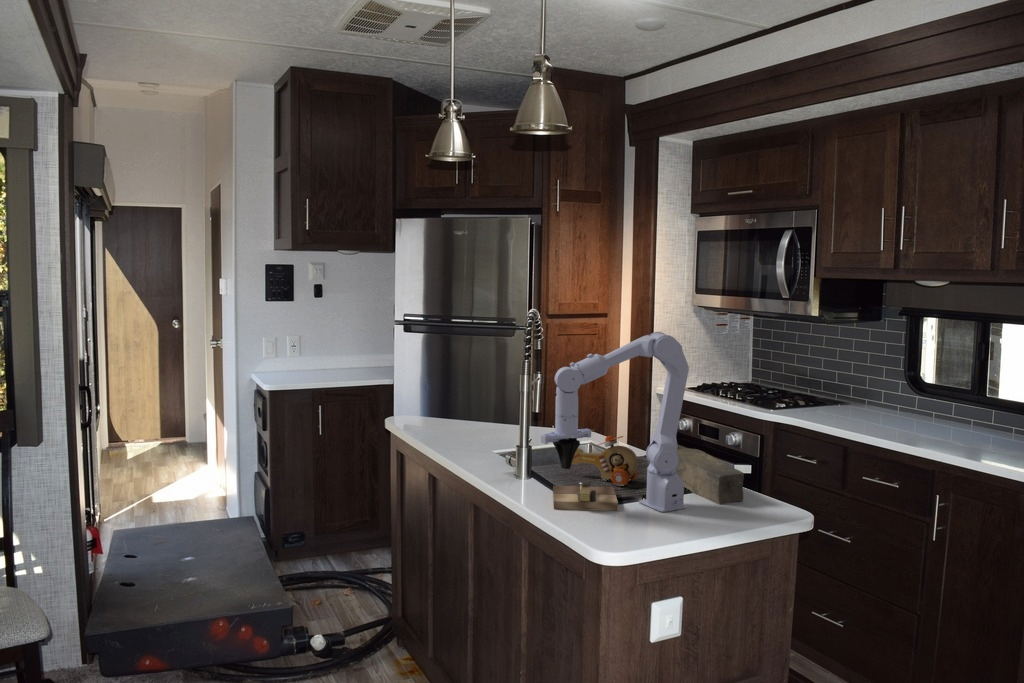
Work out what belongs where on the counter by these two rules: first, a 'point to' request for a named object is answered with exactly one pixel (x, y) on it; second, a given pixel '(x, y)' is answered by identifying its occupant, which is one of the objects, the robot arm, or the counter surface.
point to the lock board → (571, 500)
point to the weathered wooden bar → (709, 476)
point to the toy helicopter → (611, 461)
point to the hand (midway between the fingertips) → (565, 468)
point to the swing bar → (584, 490)
